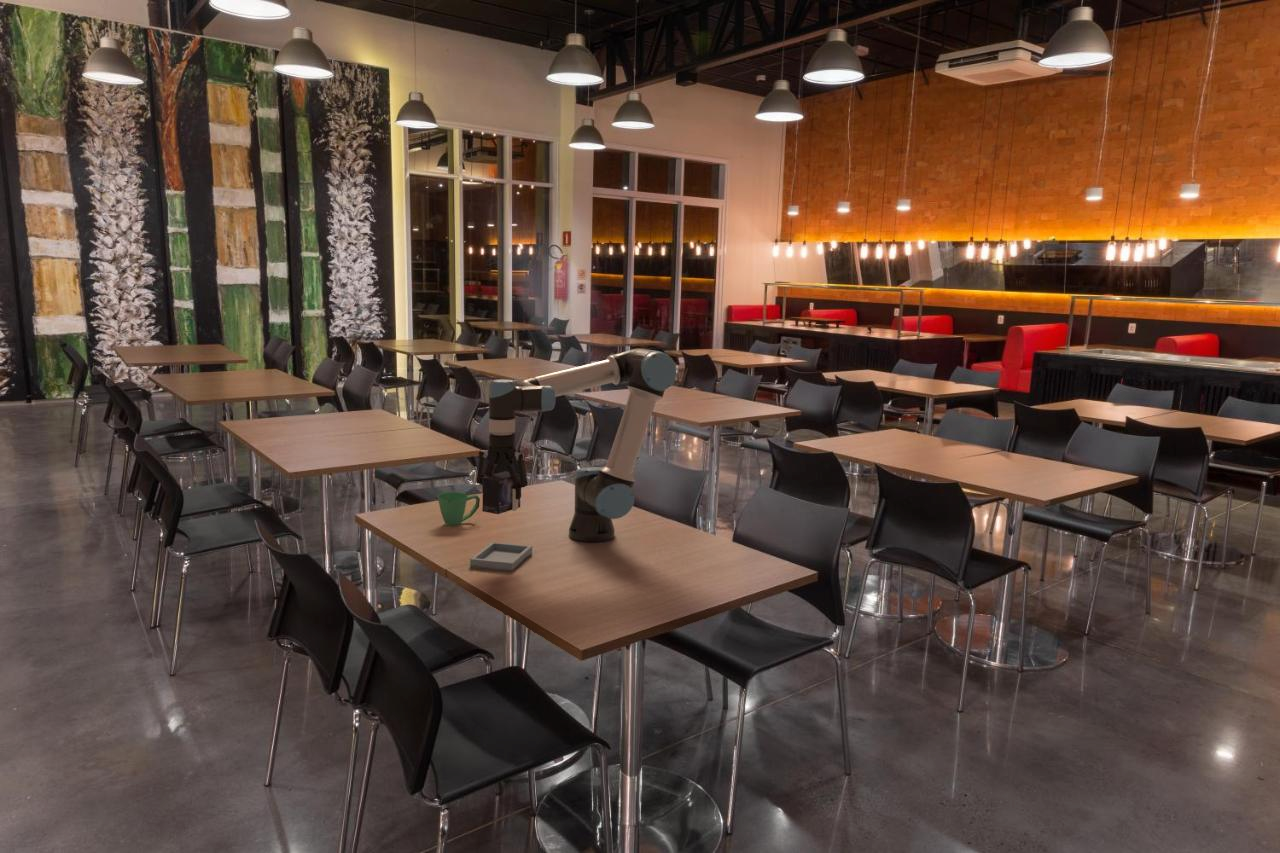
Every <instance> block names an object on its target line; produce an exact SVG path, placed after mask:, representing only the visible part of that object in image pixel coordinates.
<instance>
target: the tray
mask: <svg viewBox="0 0 1280 853" xmlns="http://www.w3.org/2000/svg"><path fill="white" fill-rule="evenodd" d="M531 555H533V545H525V544H517V543H516V544H515V543H506V542H499V541H497V542H496V541H492V542H491V543H489V544H488V545H487V546H485V547H484V548H482V550H480V551H479V552H477V553H476V554H475V555H474V556H472V557H471V558H470V560H469V565H470V566H469V567H470V568H474V569H483V570H484V569H485V570H493V571H494V570H495V571H503V572H504V571H505V572H511V573H512V572H514V571H515V570H516V569H517V568H518V567H519V566H520V565H522V564H523V563H524V562H525V561H527V559H528V558H529V557H530V556H531Z"/></svg>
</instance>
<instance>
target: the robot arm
mask: <svg viewBox="0 0 1280 853" xmlns="http://www.w3.org/2000/svg"><path fill="white" fill-rule="evenodd" d="M676 377H677V367H676V364H675V361H674V359H673V358H672V357H671V356H670V355H669V354H667V353H665V352H662V351H659V350H654V349H653V350H652V349H647V348H643V347H642V348H641V347H640V348H633V349H629V350H625V351H623V352H620V353H615V354H611V355H608V356H607V357H606V359H605V360H600V361H596V362H593V363H587V364H584V365H580V366H575V367H571V368H569V369H568V368H567V369H563V370H560V371H555V372H550V373H546V374H543V375H539V376H535V377H531V378H526V379H514V380H513V379H505V378H504V379H503V378H502V379H493V380H491V381H490V383H489V387H488V414H489V415H488V416H489V417H488V432H489V434H488V449H487V450H485V449H483V450H480V451H479V452H478V458H479V463H478V470H477V474H476V475H477V477H476V484H478V485H481V486H482V477H485V476H489V475H493V474H495V473H494V472H495V470H496V468H497V465H505V468H507V470H508V471H507V472H509V473H510V476H511V478H512V481H513V483H514V486H515V488H514V489H513V505H512V510H511V511H512V512H513V511H517V510H518V509H519V508H518V499H520V500H521V498H522V488H525V487H526V486H528V476H527V471H526V463H525V459H526V453H524V452H522V453H520V452H517V450H516V434H515V432H516V413H527V412H546V411H547V412H549V411H552V410H553V409H554V408H555V406H556V398H557V397H561V396H564V395H568V394H572V393H577V392H580V391H584V390H588V389H592V388H595V387H599V386H604V385H608V384H614V385H615V386H618V385H620V384H627V385H626V386H627V389H628V391H629V395H628V399H627V402H626V404H625V408H624V411H623V413H622V417H621V420H620V421H619V422H620V423H619V426H618V428H617V432H616V434H615V438H614V440H613V443H612V447H611V449H610V453H609V455H608V458H607V461H606V464H605V465H604V466H589V467H581V468H580V467H579V468H578V469H577V470H576V471H575V473H574V474H575V476H574V513H573V517H572V520H571V522H570V525H569V527H568V528H569V529H568V536H569V538H570V539H572V540H575V541H578V542H583V543H600V542H601V543H602V542H606V541H609V540H612V539H614V538H615V534H616V533H615V532H616V531H615V526H614V523H613V520H614V519H615V520H616V519H618V520H619V519H621V518H623V517H624V516H626V515H627V514H628V513H629V512H630V511H631V510H632V508H633V506H634V504H635V495H634V492H633V488H634V484H635V482H636V481H635V478H634V475H633V471H634V469H635V466H636V464H637V463H636V462H637V460H638V456H639V453H640V450H641V448H642V446H643V445H642V444H643V442H644V438H645V435H646V434H647V430H648V427H649V423H650V421H651V418H652V415H653V411H654V409H655V406H656V403H657V402H658V401H660V400H661V399H663V397H664V395H665V394H664V393H665V391H666V390H667V389H669V388H671V387H672V386H673V384H674V383H675V381H676ZM488 456H489V457H490V458H491V461H490V463H489V466H488V469H487V471H486V466H487V458H488ZM515 457H516V461H517V468H518V472H517V469H516V467H515V462H514V458H515ZM485 472H486V473H485ZM518 474H519V476H520V479H519V477H518Z"/></svg>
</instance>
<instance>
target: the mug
mask: <svg viewBox="0 0 1280 853" xmlns="http://www.w3.org/2000/svg"><path fill="white" fill-rule="evenodd" d="M473 499H474V500H475V503H474V506H473V507H472V509H471V510H470V511H469V512H468V513H467V514H465V511H466V506H467V502H468V501H471V500H473ZM480 500H481V498H480V497H479V496H478V495H477V494H470V495H468V494H466V493H464V492H458V491H455V492H444V493H440V494H438V496H437V501H438V505H439V510H440V514H441V516H442V519H443V521H444V524H445V526H447V527H458V526H459V525H461V524H462V523H463V522H464V521H466V520H467V519H469V518H471V517H472V516H473V515H474V514H475V513H476V512H477V510H478V509H479V507H480Z"/></svg>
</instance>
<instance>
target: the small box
mask: <svg viewBox="0 0 1280 853" xmlns="http://www.w3.org/2000/svg"><path fill="white" fill-rule="evenodd" d="M517 474H518V477H519V479H520V476H519V473H517ZM481 486H482V488H481V490H482V491H481V492H482V493H481V494H482V512H483V513H491V514H495V515H500V514H503V513H506V512H510V511H512V505H513V489H514V488H515V486H514V483H513V481H512V478H511V476H510V473H509V471H505V470H504V471H501V472H497V473H493V475H489V476H486V475H484V477H482V485H481ZM519 508H521V498H520V499H518V509H519Z"/></svg>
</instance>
